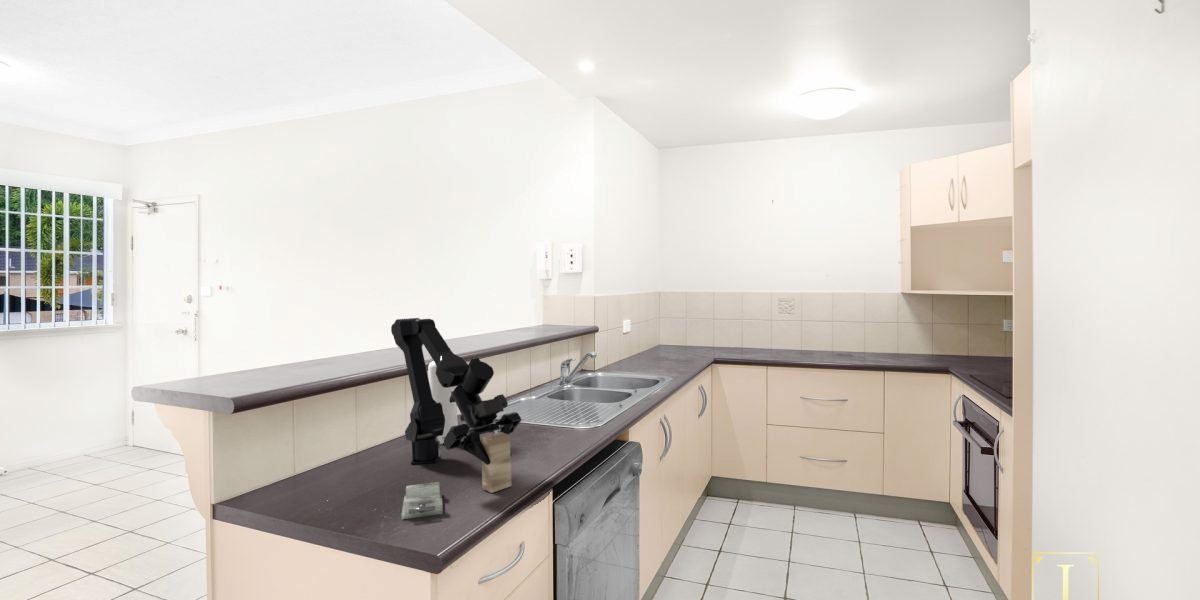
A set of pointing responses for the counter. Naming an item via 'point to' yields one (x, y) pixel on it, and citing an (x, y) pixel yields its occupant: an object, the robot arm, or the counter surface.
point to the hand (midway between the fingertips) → (499, 460)
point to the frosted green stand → (422, 500)
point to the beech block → (496, 462)
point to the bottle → (443, 400)
